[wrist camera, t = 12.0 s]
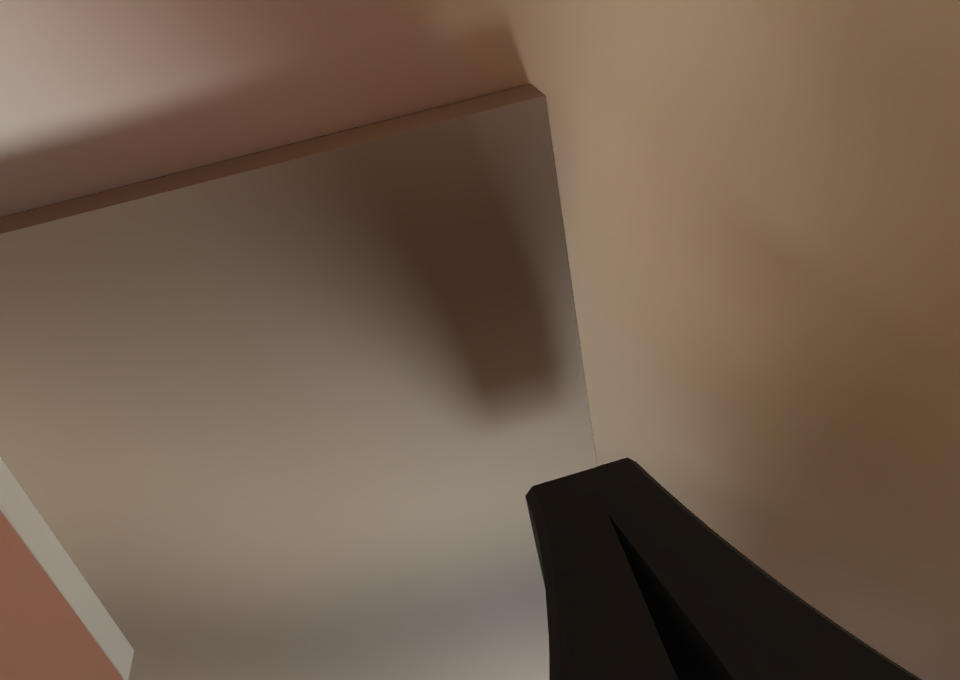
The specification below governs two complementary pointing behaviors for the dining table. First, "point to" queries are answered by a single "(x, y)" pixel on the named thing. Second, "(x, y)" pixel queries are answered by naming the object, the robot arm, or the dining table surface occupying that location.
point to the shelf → (307, 399)
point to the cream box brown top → (49, 603)
